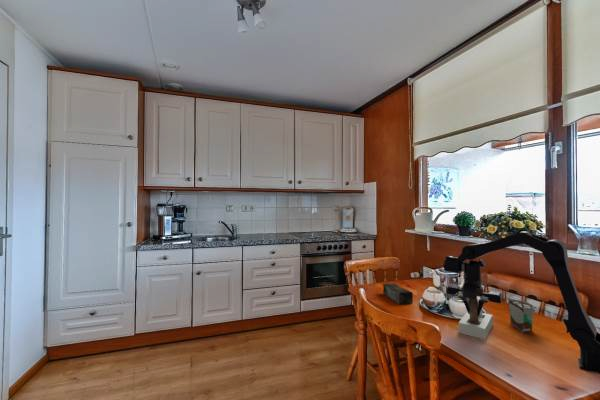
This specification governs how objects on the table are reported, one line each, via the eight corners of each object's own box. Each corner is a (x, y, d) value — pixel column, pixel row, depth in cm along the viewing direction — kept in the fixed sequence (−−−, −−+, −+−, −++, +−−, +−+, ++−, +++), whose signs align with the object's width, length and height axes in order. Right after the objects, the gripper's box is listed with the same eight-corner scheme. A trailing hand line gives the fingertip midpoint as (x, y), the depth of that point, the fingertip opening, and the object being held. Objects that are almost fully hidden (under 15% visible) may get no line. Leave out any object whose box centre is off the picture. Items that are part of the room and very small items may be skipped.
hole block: (485, 339, 107) (485, 328, 107) (458, 332, 113) (458, 322, 113) (492, 324, 120) (492, 315, 120) (468, 318, 126) (468, 310, 126)
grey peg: (482, 327, 118) (481, 303, 118) (473, 325, 120) (473, 301, 120) (483, 324, 120) (482, 301, 120) (475, 322, 122) (474, 299, 122)
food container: (543, 335, 109) (542, 309, 109) (525, 334, 110) (524, 308, 111) (524, 322, 121) (524, 299, 122) (508, 321, 123) (508, 298, 123)
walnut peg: (479, 323, 113) (478, 298, 113) (477, 325, 111) (477, 300, 111) (470, 321, 115) (470, 296, 115) (469, 323, 113) (468, 298, 113)
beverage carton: (395, 293, 165) (395, 281, 165) (413, 304, 146) (413, 291, 146) (382, 294, 164) (382, 282, 164) (399, 305, 145) (399, 292, 145)
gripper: (441, 276, 114) (443, 314, 113) (497, 284, 101) (499, 327, 101) (449, 271, 122) (450, 307, 122) (502, 278, 109) (503, 318, 109)
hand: (473, 314), depth 113 cm, fingers closed on walnut peg, 3 cm apart
